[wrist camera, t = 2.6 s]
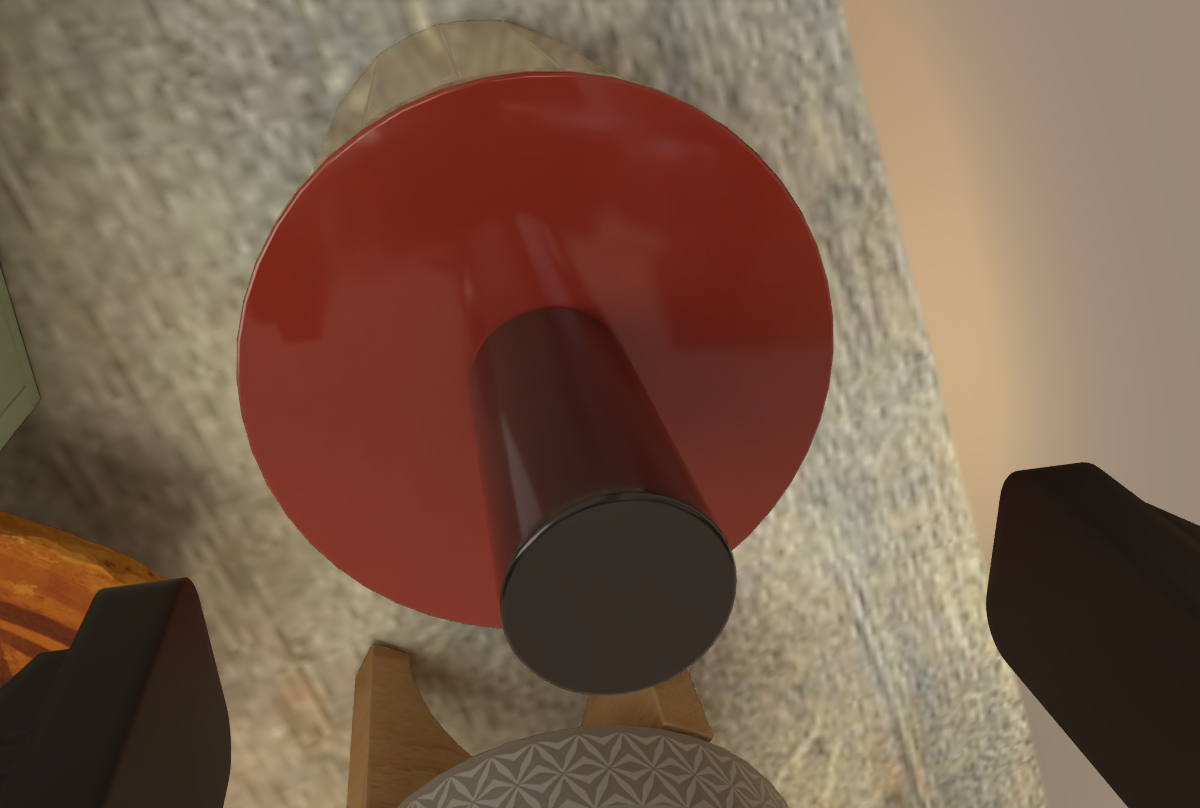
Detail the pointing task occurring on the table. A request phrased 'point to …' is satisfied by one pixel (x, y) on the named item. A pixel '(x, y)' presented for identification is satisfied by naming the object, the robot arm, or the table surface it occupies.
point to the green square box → (13, 372)
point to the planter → (544, 754)
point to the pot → (445, 67)
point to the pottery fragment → (51, 587)
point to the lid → (540, 365)
